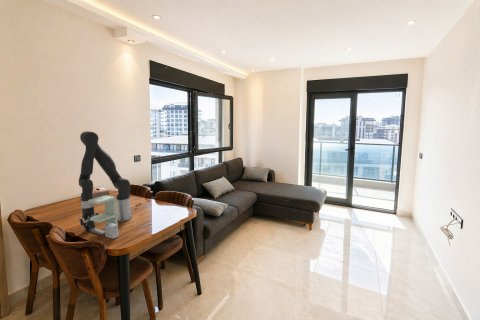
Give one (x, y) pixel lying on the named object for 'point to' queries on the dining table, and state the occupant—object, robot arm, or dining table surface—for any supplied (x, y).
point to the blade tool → (94, 230)
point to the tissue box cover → (99, 191)
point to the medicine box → (111, 230)
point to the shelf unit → (106, 209)
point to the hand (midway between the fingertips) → (89, 229)
